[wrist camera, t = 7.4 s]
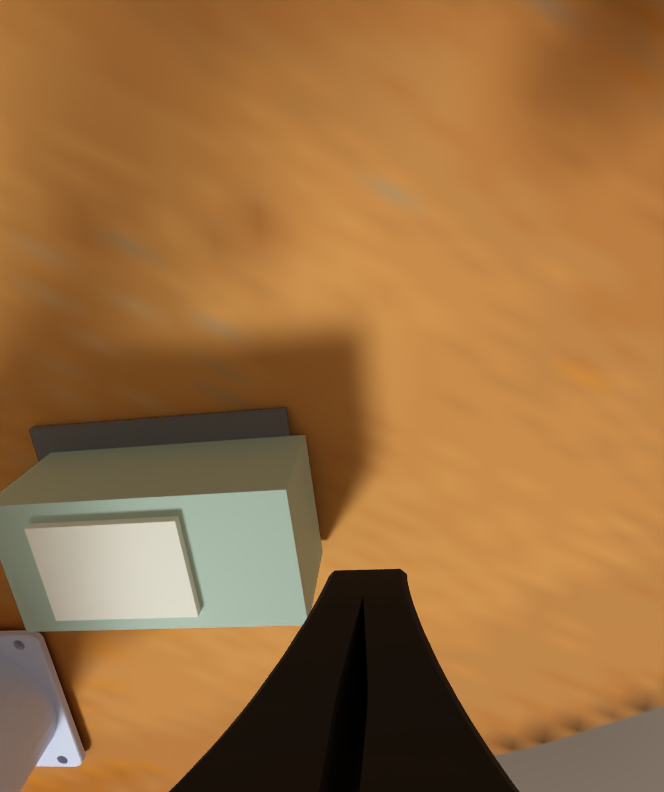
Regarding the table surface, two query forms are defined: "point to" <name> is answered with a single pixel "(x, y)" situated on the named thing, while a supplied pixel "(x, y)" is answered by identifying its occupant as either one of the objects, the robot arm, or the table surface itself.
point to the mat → (160, 431)
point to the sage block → (164, 537)
